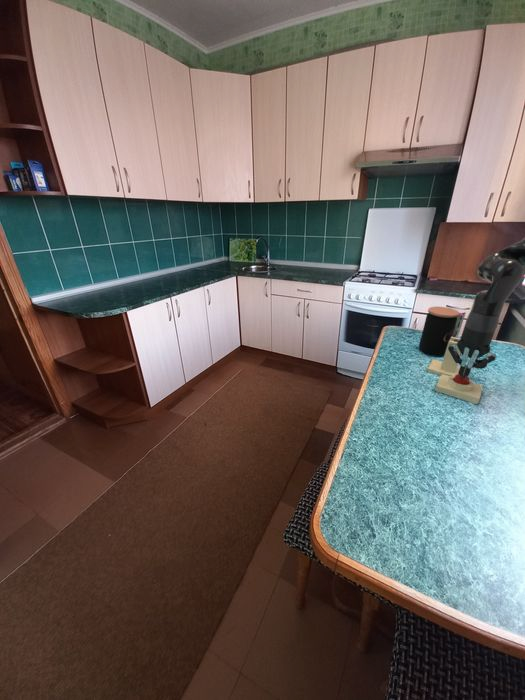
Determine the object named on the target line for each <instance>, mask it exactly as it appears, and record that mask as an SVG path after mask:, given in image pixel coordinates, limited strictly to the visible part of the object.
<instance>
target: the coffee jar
mask: <svg viewBox="0 0 525 700" xmlns="http://www.w3.org/2000/svg"><path fill="white" fill-rule="evenodd" d="M456 310H457V309H454V308H451V307H445V306H439V307H437V306H431V307H428V309H427V312H428V313H427V314H426V316H425V320H424V324H423V328H422V332H421V337H420V340H419V343H418V348H419V351H420V352H421V353H423V354H425V355H427V356H430V357H444V356H445V352H446V349H447V346H448V342H449V340H450V339H451V337H452V335H453V332H454V329H455V325H456V322H457V316H458V315H459V312H458V311H459V310H458V311H456Z"/></svg>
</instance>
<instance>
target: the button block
mask: <svg viewBox="0 0 525 700" xmlns="http://www.w3.org/2000/svg"><path fill="white" fill-rule="evenodd" d="M454 378H455V375H453V376H447V375H443V374H442V375H440V377H439V379H438V381H437V383H436V385H435V388H434V391H435V392H437V393H441V394H442V395H443V394H444V395H447V396H450V397H453V398H456V399H459V400H463V401H466V402H468V403H472V404H475V405H479V402H480V400H481V396H482V391H483V387H484V386H483V384H482V385H481V384H478V383H474V381H473V380H472V379H470V380H469V383H468V385H461V384H458V383H456V382H454Z"/></svg>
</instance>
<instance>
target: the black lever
mask: <svg viewBox="0 0 525 700" xmlns="http://www.w3.org/2000/svg"><path fill="white" fill-rule="evenodd" d="M454 342H458V341H457V340H456V339H455V340H454ZM468 358H469V359H471V358H470V357H468ZM482 359H483V358H481V359H479V358H477V359H476V360H475V362H478V361H480V360H482ZM487 367H488V364H486V365H484V366H482V367H480V368H479V369H481V370H482V369H485V368H487Z"/></svg>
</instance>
